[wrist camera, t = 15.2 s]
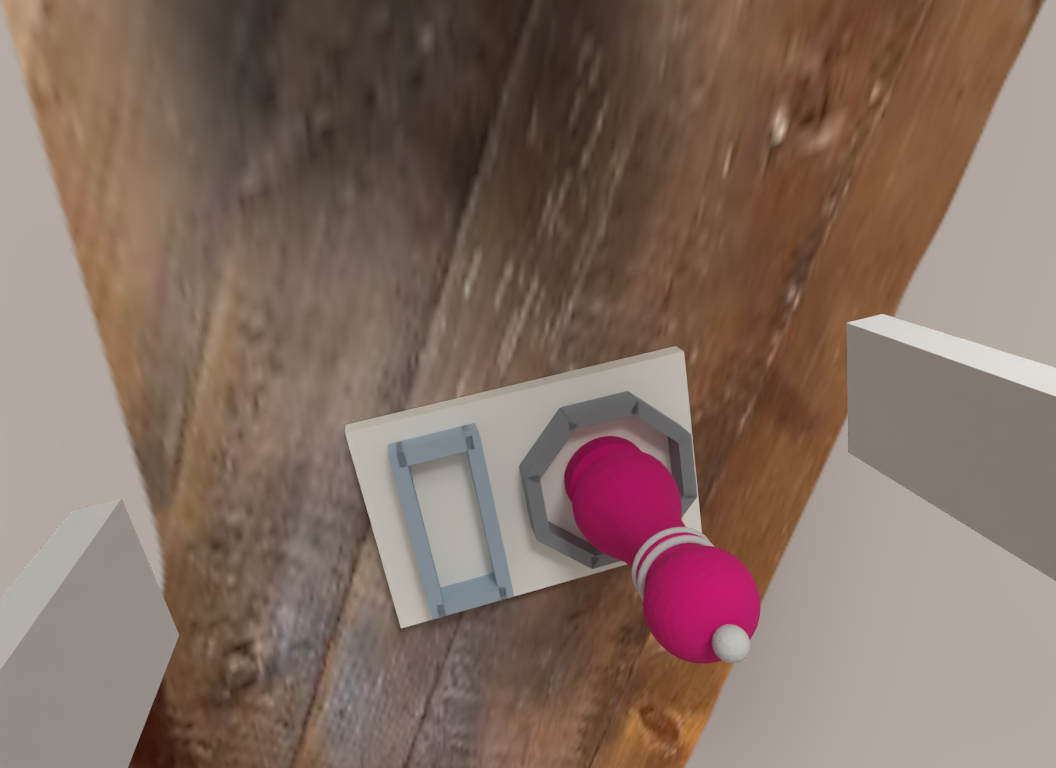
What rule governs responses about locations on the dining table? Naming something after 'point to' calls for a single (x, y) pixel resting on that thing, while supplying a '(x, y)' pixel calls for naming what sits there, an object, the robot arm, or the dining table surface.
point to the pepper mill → (662, 552)
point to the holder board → (510, 480)
